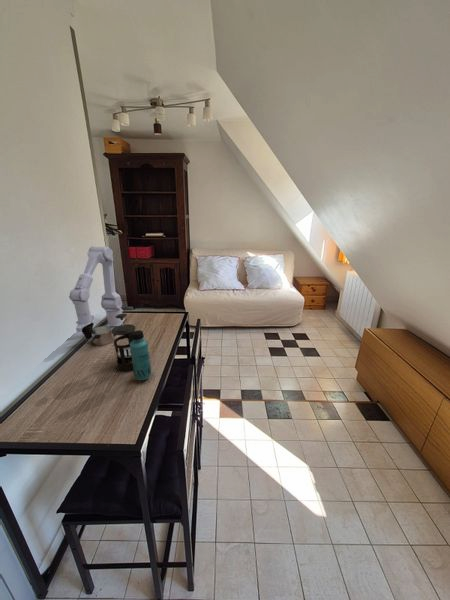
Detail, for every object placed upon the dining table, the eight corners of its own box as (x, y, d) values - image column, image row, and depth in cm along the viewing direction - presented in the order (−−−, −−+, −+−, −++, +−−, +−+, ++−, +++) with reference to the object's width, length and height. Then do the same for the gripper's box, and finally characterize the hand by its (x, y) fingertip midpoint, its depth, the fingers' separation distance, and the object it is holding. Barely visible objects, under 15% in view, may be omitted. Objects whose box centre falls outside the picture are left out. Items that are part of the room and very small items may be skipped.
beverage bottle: (131, 380, 95) (123, 334, 88) (143, 371, 101) (137, 326, 94) (143, 385, 92) (136, 338, 86) (156, 375, 98) (150, 330, 91)
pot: (98, 335, 130) (96, 325, 128) (116, 334, 131) (114, 324, 129) (88, 347, 119) (86, 336, 117) (108, 346, 120) (106, 335, 117)
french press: (135, 373, 100) (127, 320, 92) (112, 372, 100) (102, 320, 92) (145, 356, 111) (138, 308, 103) (124, 356, 111) (116, 308, 103)
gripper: (81, 307, 126) (87, 331, 130) (66, 319, 112) (73, 345, 117) (96, 307, 126) (101, 331, 131) (82, 318, 112) (88, 345, 117)
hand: (89, 338), depth 124 cm, fingers closed, pressing on pot
